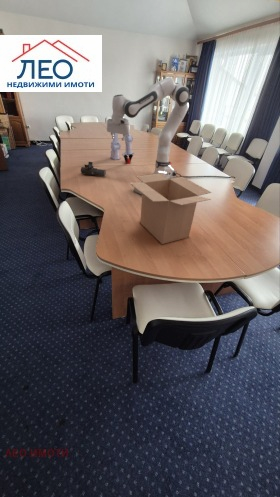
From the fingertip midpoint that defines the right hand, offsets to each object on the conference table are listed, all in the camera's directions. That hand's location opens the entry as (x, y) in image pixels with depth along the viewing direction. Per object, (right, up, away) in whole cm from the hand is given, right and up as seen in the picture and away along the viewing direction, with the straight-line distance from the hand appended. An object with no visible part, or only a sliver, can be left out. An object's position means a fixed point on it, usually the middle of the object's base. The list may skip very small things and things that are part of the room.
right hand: (118, 139), depth 179 cm
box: (+32, -77, -47) cm, 96 cm away
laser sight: (-25, -21, +23) cm, 40 cm away
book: (+26, -42, 0) cm, 50 cm away
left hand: (+5, +5, +59) cm, 60 cm away
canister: (+5, +4, +60) cm, 60 cm away
